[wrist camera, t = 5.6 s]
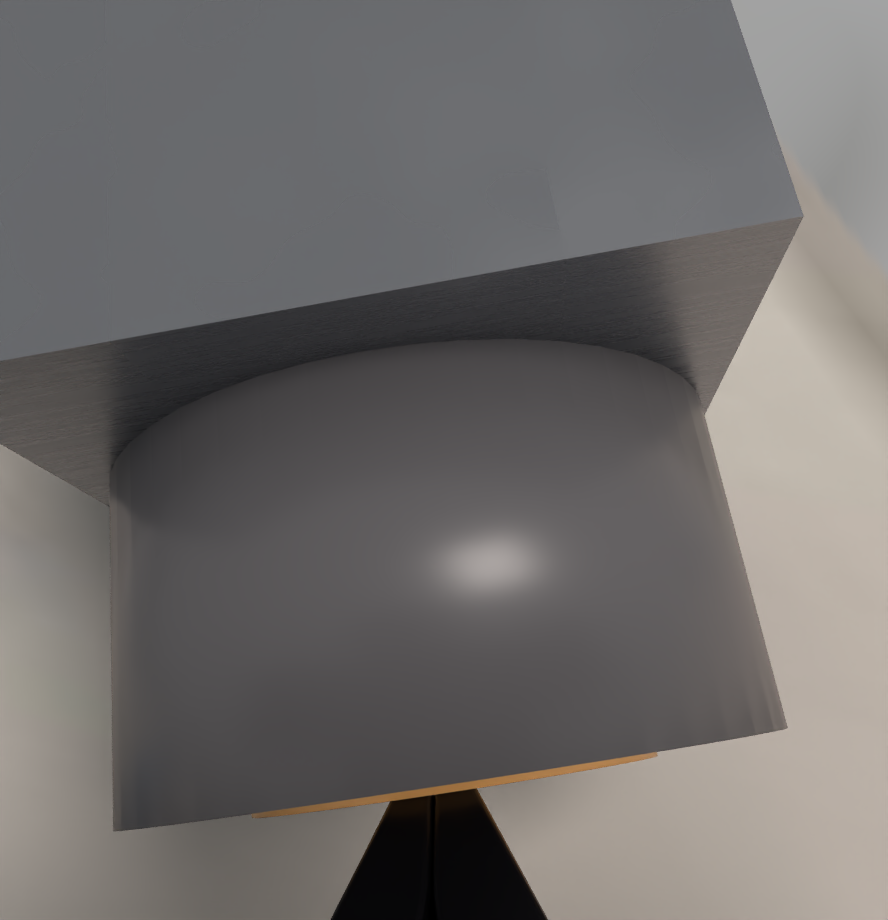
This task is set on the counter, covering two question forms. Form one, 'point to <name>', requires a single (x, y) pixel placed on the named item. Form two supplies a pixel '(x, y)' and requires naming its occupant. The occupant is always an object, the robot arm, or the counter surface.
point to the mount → (364, 195)
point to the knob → (422, 582)
